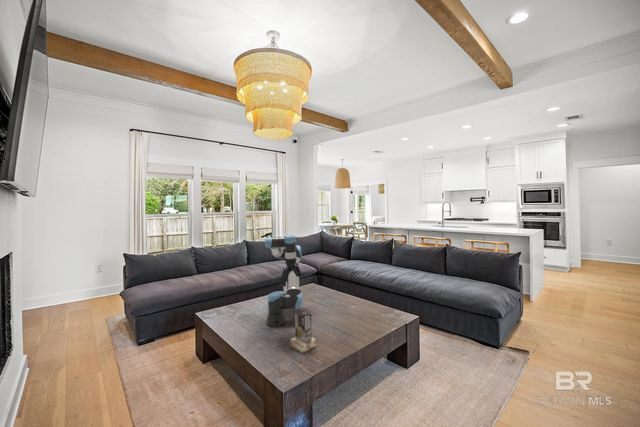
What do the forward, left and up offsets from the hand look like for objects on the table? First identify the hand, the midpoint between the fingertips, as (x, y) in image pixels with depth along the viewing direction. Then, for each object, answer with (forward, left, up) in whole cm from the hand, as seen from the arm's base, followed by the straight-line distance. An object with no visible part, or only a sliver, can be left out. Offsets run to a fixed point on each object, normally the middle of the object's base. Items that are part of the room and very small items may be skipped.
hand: (291, 288), depth 197 cm
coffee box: (+10, +16, -28) cm, 34 cm away
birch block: (+10, +16, -33) cm, 38 cm away
